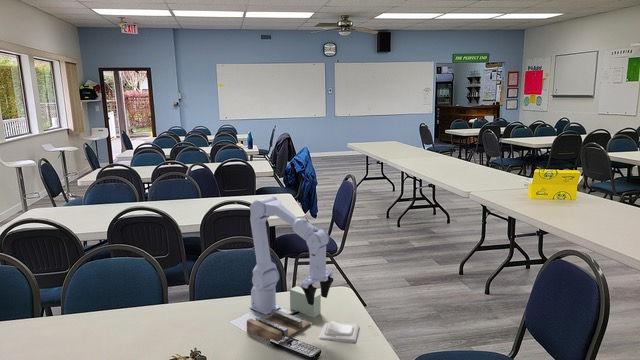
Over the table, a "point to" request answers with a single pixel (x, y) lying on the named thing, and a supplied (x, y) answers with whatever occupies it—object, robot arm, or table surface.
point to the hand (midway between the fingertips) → (317, 300)
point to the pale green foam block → (304, 302)
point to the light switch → (339, 332)
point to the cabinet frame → (276, 326)
